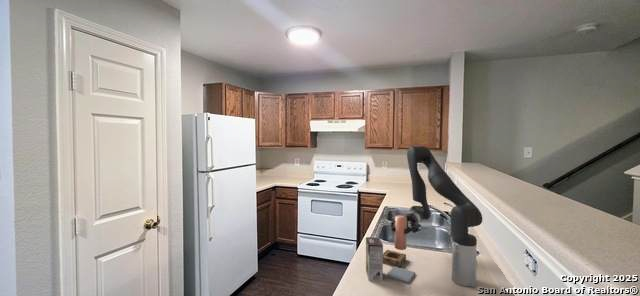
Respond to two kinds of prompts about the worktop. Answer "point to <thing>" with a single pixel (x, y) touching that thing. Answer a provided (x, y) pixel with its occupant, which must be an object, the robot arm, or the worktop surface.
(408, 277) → the mat
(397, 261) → the socket block
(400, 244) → the plug
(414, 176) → the robot arm
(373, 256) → the coffee box
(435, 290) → the worktop surface
